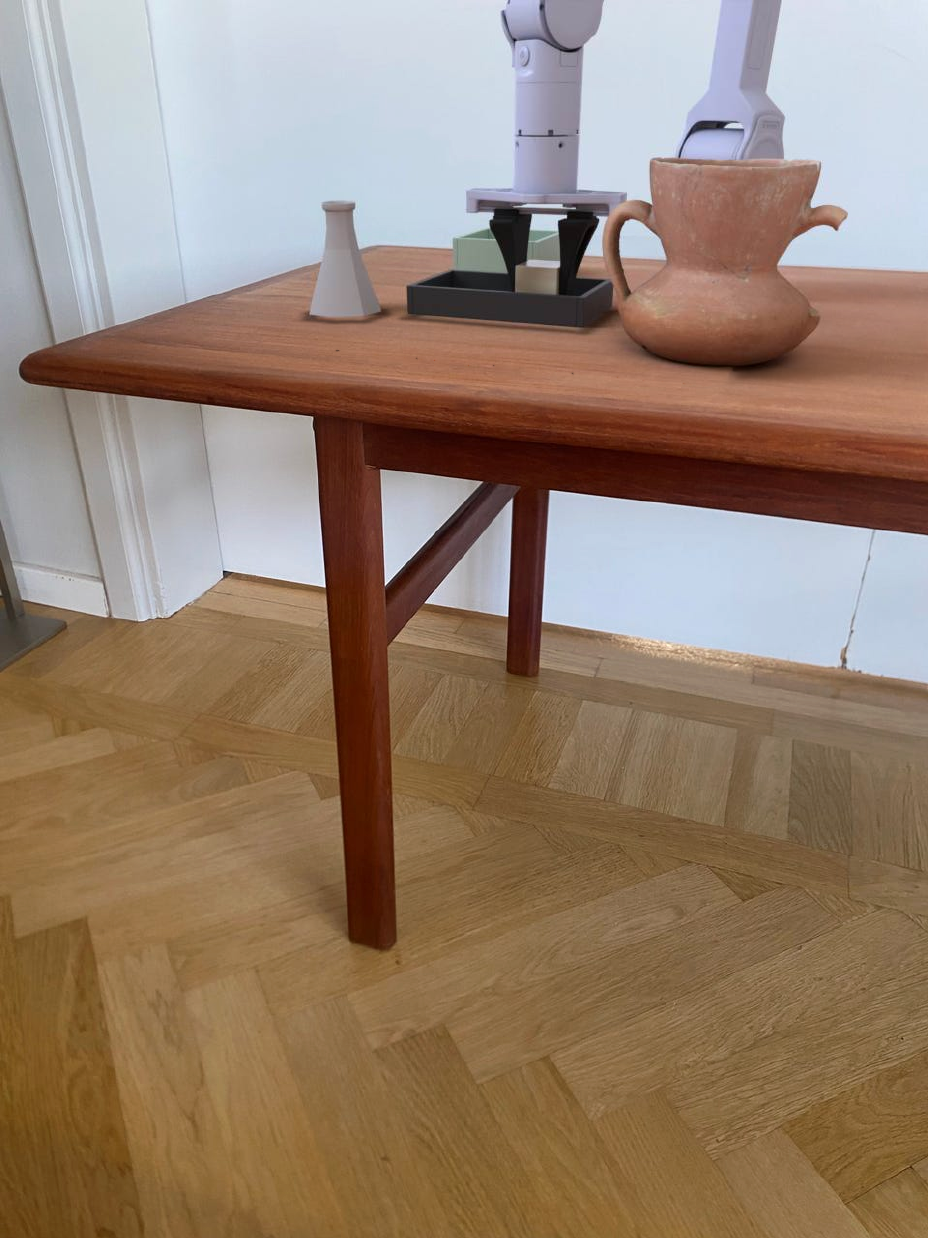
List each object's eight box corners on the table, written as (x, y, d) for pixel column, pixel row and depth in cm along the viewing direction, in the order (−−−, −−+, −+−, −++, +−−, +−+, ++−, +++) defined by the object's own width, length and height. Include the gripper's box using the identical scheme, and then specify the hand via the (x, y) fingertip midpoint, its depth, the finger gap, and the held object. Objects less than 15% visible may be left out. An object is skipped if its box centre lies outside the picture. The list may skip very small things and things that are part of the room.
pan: (611, 311, 90) (614, 279, 89) (582, 332, 82) (584, 297, 81) (449, 299, 96) (449, 269, 95) (407, 318, 88) (406, 285, 86)
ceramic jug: (835, 347, 76) (870, 155, 70) (802, 390, 65) (840, 167, 58) (626, 327, 84) (640, 151, 77) (565, 362, 73) (574, 161, 66)
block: (568, 305, 89) (570, 261, 87) (555, 313, 85) (557, 267, 83) (528, 303, 90) (529, 259, 88) (514, 310, 87) (515, 265, 85)
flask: (371, 323, 86) (364, 206, 81) (297, 320, 87) (286, 205, 82) (391, 308, 92) (387, 198, 87) (322, 306, 93) (314, 197, 88)
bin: (564, 271, 111) (565, 230, 109) (536, 285, 103) (538, 241, 101) (485, 266, 115) (485, 227, 113) (452, 279, 107) (452, 237, 104)
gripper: (452, 136, 80) (454, 300, 86) (616, 137, 75) (605, 311, 81) (482, 133, 85) (481, 287, 92) (637, 134, 80) (625, 297, 87)
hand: (541, 298), depth 87 cm, fingers closed on block, 4 cm apart
